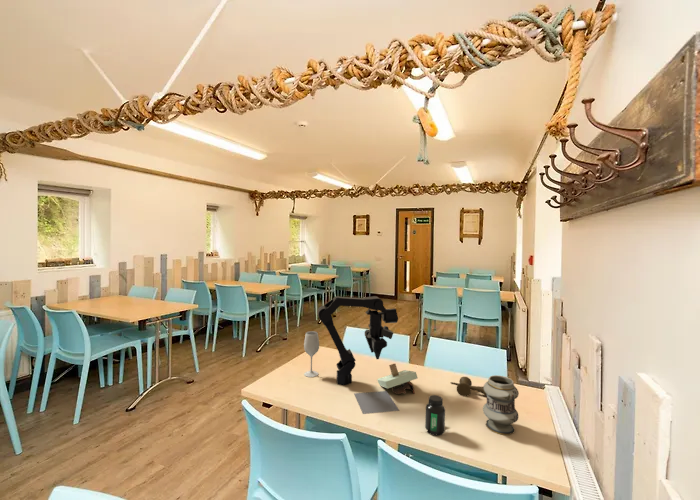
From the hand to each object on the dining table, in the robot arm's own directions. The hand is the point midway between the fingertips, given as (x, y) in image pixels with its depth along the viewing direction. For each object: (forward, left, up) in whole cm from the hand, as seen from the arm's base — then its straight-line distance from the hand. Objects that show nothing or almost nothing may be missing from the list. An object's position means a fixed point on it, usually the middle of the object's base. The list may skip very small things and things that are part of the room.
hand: (374, 355), depth 158 cm
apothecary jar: (+36, -44, -13) cm, 58 cm away
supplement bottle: (+11, -42, -13) cm, 45 cm away
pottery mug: (+10, -13, -13) cm, 21 cm away
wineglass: (-29, +14, -13) cm, 35 cm away
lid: (+8, -11, -9) cm, 16 cm away
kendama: (+41, -18, -14) cm, 47 cm away
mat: (-5, -20, -13) cm, 24 cm away
